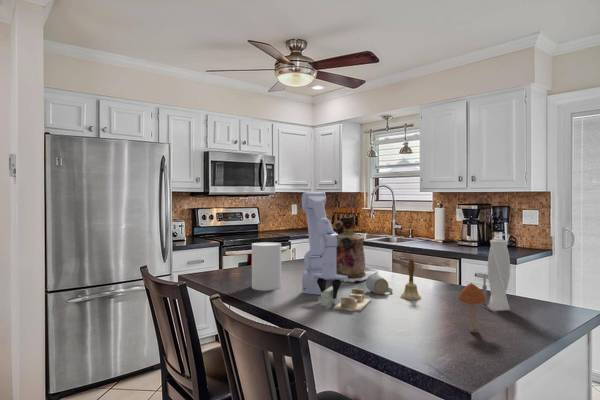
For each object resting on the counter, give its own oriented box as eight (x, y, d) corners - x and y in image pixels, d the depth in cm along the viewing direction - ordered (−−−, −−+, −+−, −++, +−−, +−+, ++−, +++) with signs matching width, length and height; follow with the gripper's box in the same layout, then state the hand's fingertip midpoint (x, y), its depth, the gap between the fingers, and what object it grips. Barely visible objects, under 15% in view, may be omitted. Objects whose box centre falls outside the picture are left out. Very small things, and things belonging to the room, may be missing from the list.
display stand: (334, 308, 148) (334, 296, 148) (346, 298, 163) (346, 287, 163) (360, 311, 144) (360, 299, 144) (370, 301, 159) (370, 289, 159)
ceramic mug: (374, 296, 167) (374, 277, 167) (365, 291, 175) (365, 274, 175) (396, 294, 170) (396, 276, 170) (386, 290, 178) (386, 273, 178)
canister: (263, 292, 175) (263, 246, 174) (246, 286, 185) (245, 243, 184) (287, 287, 183) (287, 243, 183) (269, 282, 194) (269, 241, 193)
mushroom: (453, 327, 127) (453, 280, 127) (477, 326, 128) (477, 280, 127) (466, 336, 119) (466, 286, 119) (491, 335, 120) (491, 285, 119)
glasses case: (321, 305, 153) (321, 292, 153) (331, 298, 164) (331, 286, 164) (327, 306, 152) (327, 293, 152) (337, 298, 163) (337, 286, 163)
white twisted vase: (500, 305, 153) (500, 232, 153) (515, 311, 145) (515, 234, 145) (480, 306, 152) (481, 233, 151) (494, 313, 144) (494, 235, 143)
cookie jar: (338, 270, 224) (338, 213, 224) (379, 275, 210) (379, 215, 210) (314, 278, 204) (314, 215, 204) (357, 284, 190) (357, 217, 190)
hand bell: (422, 296, 166) (422, 258, 166) (419, 301, 159) (419, 261, 159) (402, 294, 170) (402, 256, 170) (398, 298, 162) (398, 259, 162)
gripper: (308, 264, 157) (308, 298, 158) (343, 266, 152) (343, 302, 152) (314, 261, 164) (315, 294, 164) (349, 263, 158) (349, 298, 158)
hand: (329, 298), depth 158 cm, fingers open, 4 cm apart
